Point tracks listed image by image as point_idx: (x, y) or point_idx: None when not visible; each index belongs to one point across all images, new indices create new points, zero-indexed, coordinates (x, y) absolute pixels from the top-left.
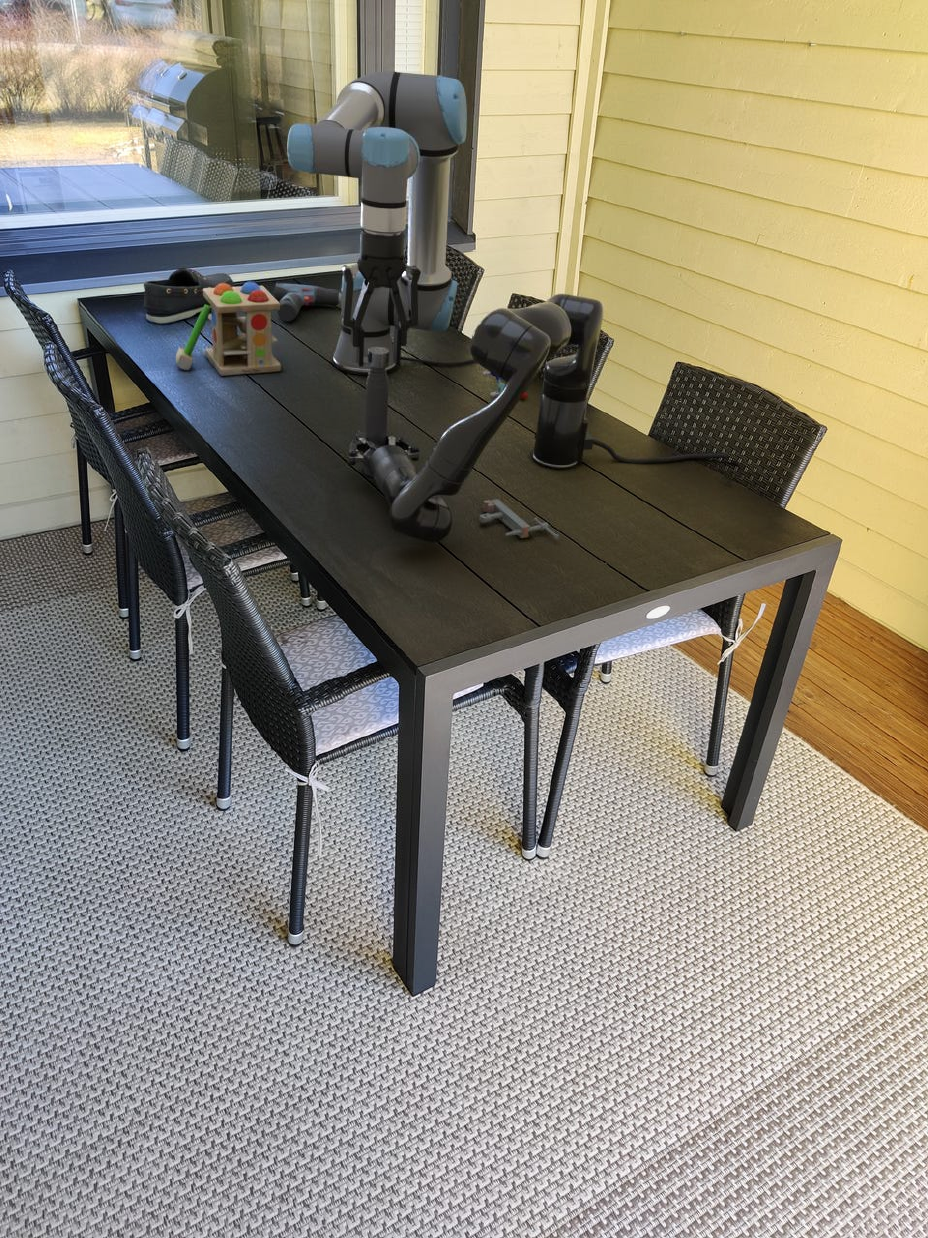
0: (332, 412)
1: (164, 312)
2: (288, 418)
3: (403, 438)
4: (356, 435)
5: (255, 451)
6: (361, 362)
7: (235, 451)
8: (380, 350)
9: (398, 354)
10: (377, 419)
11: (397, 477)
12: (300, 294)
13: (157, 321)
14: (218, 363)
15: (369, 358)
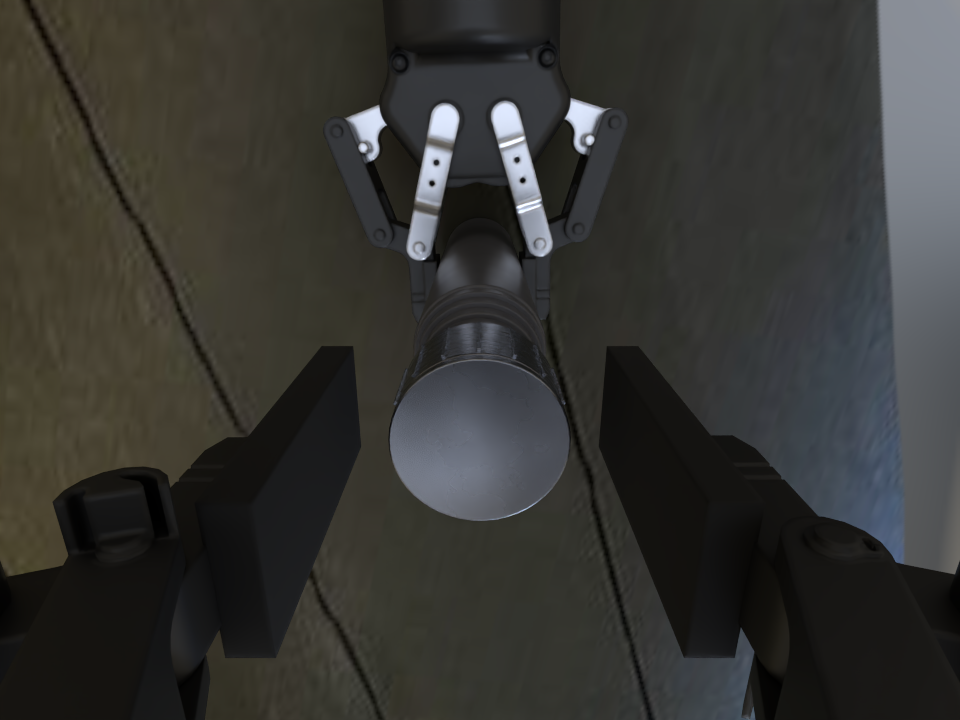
0: (515, 632)
1: None
2: (644, 609)
3: (374, 234)
4: (549, 301)
5: (795, 428)
6: (629, 354)
7: (850, 434)
8: (464, 443)
9: (316, 378)
10: (486, 249)
11: None
12: None
13: None
14: None
15: (559, 392)
